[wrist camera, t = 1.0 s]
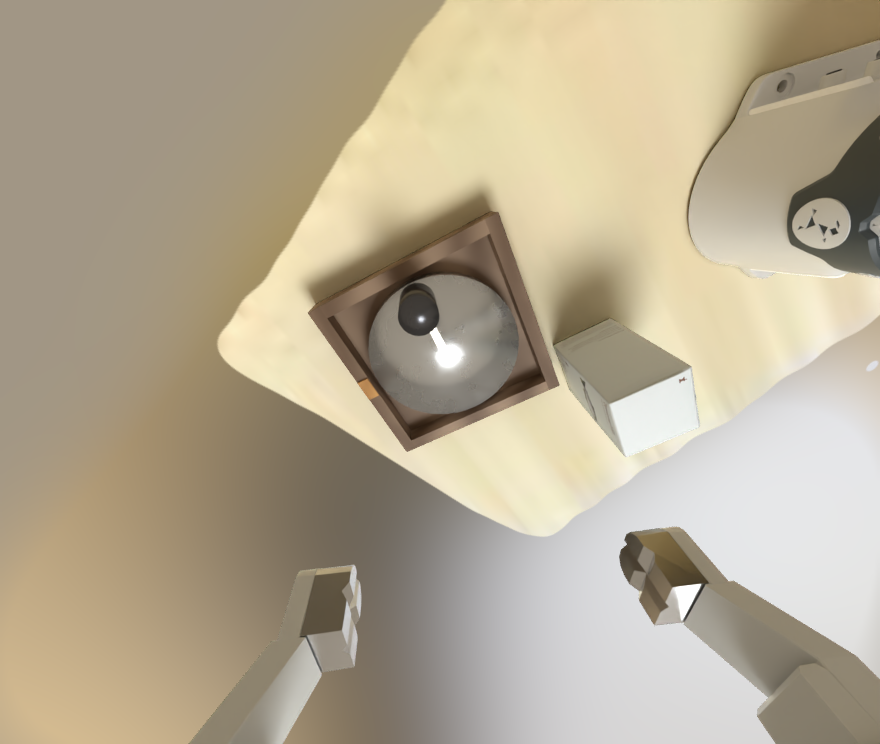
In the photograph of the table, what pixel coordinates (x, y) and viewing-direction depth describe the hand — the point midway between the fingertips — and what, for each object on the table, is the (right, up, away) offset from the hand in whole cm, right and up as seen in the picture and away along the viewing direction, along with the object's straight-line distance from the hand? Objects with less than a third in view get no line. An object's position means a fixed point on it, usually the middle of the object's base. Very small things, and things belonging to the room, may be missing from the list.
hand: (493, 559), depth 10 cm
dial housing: (-1, +9, +28) cm, 29 cm away
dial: (-1, +9, +27) cm, 28 cm away
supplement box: (+16, +8, +30) cm, 35 cm away
